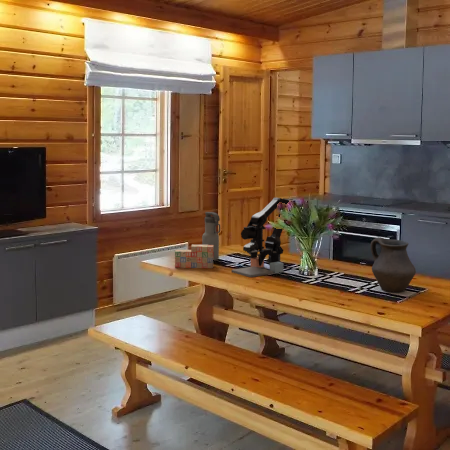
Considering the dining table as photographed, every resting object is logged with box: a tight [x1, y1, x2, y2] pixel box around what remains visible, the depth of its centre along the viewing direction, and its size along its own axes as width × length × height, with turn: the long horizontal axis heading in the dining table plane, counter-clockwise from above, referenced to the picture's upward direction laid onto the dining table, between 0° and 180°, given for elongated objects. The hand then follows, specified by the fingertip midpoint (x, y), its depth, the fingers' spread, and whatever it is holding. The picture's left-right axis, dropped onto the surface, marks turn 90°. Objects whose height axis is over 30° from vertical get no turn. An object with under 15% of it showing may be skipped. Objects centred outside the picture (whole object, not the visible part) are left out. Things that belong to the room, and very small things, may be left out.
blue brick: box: [269, 261, 285, 274], centre depth 347 cm, size 6×4×5 cm
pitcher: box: [370, 236, 417, 294], centre depth 307 cm, size 21×22×25 cm
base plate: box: [231, 266, 274, 278], centre depth 345 cm, size 16×16×1 cm
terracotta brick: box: [250, 256, 265, 268], centre depth 360 cm, size 6×4×5 cm
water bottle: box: [201, 211, 221, 261], centre depth 379 cm, size 10×10×28 cm
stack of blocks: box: [174, 244, 214, 269], centre depth 359 cm, size 21×6×12 cm, turn 87°
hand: (257, 265), depth 360 cm, fingers closed on terracotta brick, 4 cm apart
